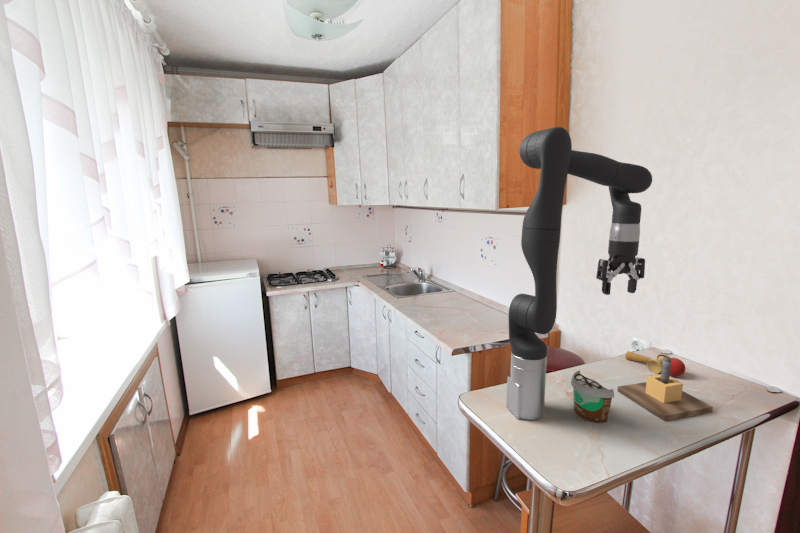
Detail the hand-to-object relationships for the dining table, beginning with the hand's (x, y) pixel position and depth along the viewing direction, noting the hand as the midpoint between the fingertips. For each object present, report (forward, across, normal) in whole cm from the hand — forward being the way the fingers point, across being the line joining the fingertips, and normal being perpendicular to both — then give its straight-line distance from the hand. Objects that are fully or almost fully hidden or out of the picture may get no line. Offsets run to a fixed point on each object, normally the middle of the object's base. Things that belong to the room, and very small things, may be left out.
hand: (618, 293), depth 113 cm
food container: (+31, -17, -11) cm, 37 cm away
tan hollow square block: (+28, +9, -10) cm, 32 cm away
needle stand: (+30, +9, -10) cm, 33 cm away
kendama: (+30, +23, +7) cm, 39 cm away
